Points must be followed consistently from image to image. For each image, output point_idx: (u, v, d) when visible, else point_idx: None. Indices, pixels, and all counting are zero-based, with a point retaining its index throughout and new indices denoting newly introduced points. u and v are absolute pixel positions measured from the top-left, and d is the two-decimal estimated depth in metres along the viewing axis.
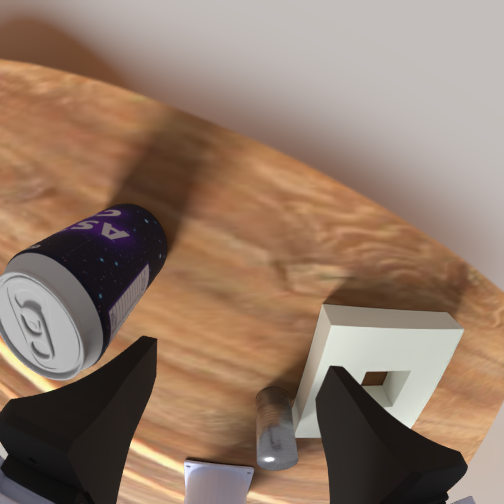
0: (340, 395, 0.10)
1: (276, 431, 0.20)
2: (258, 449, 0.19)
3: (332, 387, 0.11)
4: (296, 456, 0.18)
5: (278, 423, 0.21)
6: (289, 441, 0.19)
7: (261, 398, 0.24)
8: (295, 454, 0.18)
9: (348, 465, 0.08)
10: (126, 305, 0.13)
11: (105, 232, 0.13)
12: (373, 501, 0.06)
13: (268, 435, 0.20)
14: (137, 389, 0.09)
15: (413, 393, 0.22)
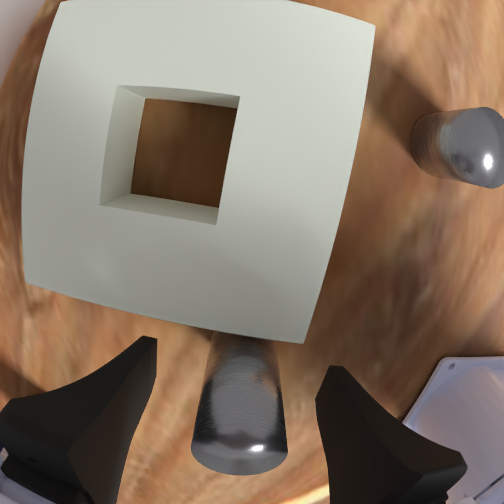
0: (340, 395, 0.10)
1: None
2: None
3: (332, 387, 0.11)
4: (221, 427, 0.08)
5: None
6: (200, 413, 0.09)
7: None
8: (212, 428, 0.08)
9: (348, 465, 0.08)
10: None
11: None
12: (373, 501, 0.06)
13: None
14: (137, 389, 0.09)
15: (203, 46, 0.08)
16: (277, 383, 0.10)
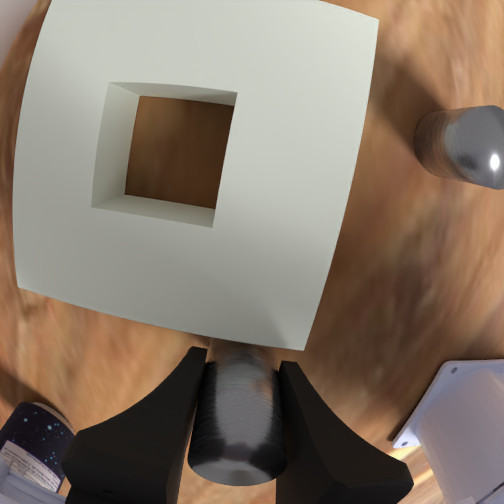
0: (287, 391, 0.10)
1: None
2: None
3: (282, 383, 0.11)
4: (218, 440, 0.07)
5: None
6: (197, 423, 0.08)
7: None
8: (209, 440, 0.07)
9: (289, 466, 0.08)
10: None
11: None
12: None
13: None
14: (194, 402, 0.09)
15: (199, 40, 0.08)
16: (277, 392, 0.10)
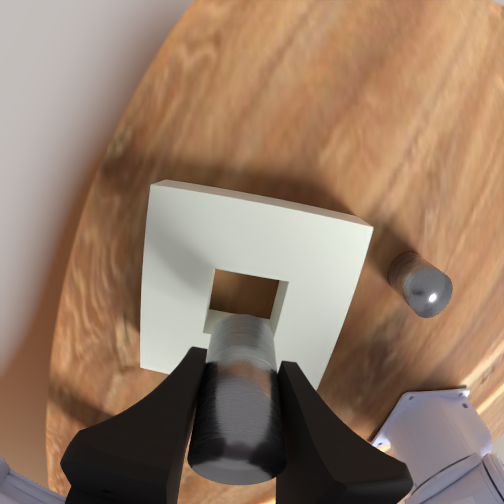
0: (287, 392, 0.10)
1: None
2: None
3: (282, 383, 0.11)
4: (216, 439, 0.07)
5: None
6: (196, 423, 0.08)
7: None
8: (208, 440, 0.07)
9: (289, 466, 0.08)
10: None
11: None
12: None
13: None
14: (194, 402, 0.09)
15: (268, 249, 0.16)
16: (275, 391, 0.10)
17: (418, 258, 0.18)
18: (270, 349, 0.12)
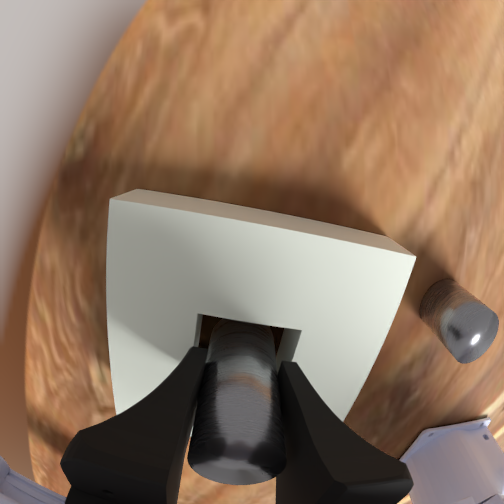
0: (287, 391, 0.10)
1: None
2: None
3: (282, 383, 0.11)
4: (216, 439, 0.07)
5: (199, 399, 0.10)
6: (196, 423, 0.08)
7: None
8: (208, 440, 0.07)
9: (289, 466, 0.08)
10: None
11: None
12: None
13: None
14: (194, 402, 0.09)
15: (274, 289, 0.11)
16: (275, 391, 0.10)
17: (459, 288, 0.13)
18: (270, 349, 0.12)
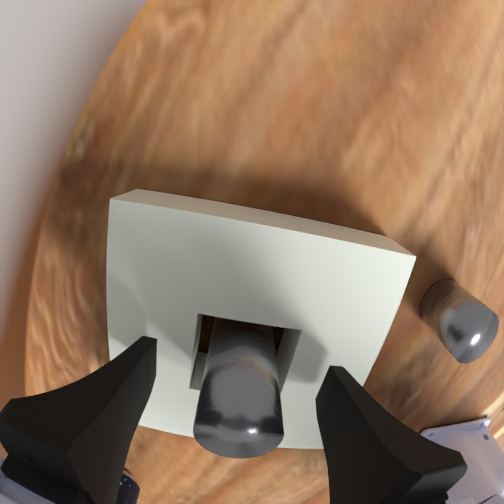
0: (340, 395, 0.10)
1: None
2: None
3: (332, 387, 0.11)
4: (220, 409, 0.08)
5: None
6: (201, 397, 0.09)
7: None
8: (212, 410, 0.08)
9: (348, 465, 0.08)
10: None
11: None
12: (373, 501, 0.06)
13: None
14: (137, 389, 0.09)
15: (274, 289, 0.11)
16: (273, 369, 0.11)
17: (459, 288, 0.13)
18: (269, 333, 0.13)
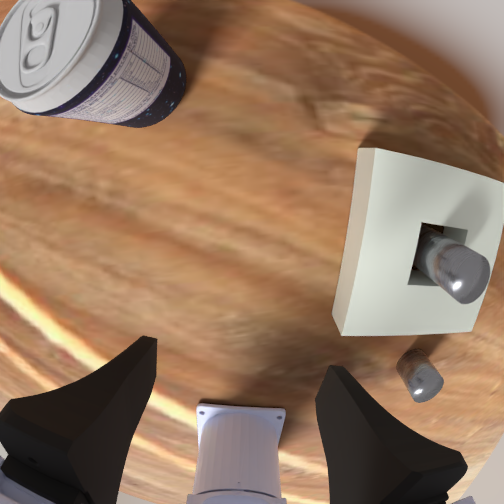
0: (340, 395, 0.10)
1: (457, 244, 0.15)
2: (449, 267, 0.14)
3: (332, 387, 0.11)
4: (489, 268, 0.14)
5: (452, 241, 0.16)
6: (475, 252, 0.14)
7: None
8: (488, 264, 0.14)
9: (348, 465, 0.08)
10: (146, 49, 0.09)
11: None
12: (373, 501, 0.06)
13: (452, 249, 0.15)
14: (137, 389, 0.09)
15: None
16: None
17: None
18: None
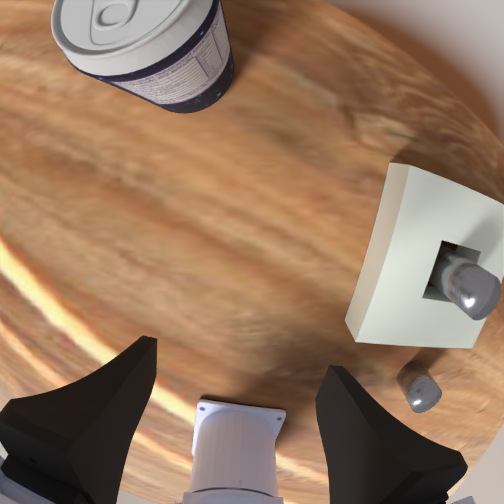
0: (340, 395, 0.10)
1: (473, 264, 0.16)
2: (465, 284, 0.15)
3: (332, 387, 0.11)
4: (500, 289, 0.14)
5: (468, 260, 0.16)
6: (489, 272, 0.15)
7: None
8: (500, 285, 0.14)
9: (348, 465, 0.08)
10: (221, 33, 0.09)
11: None
12: (373, 501, 0.06)
13: (469, 268, 0.15)
14: (137, 389, 0.09)
15: None
16: None
17: None
18: None
